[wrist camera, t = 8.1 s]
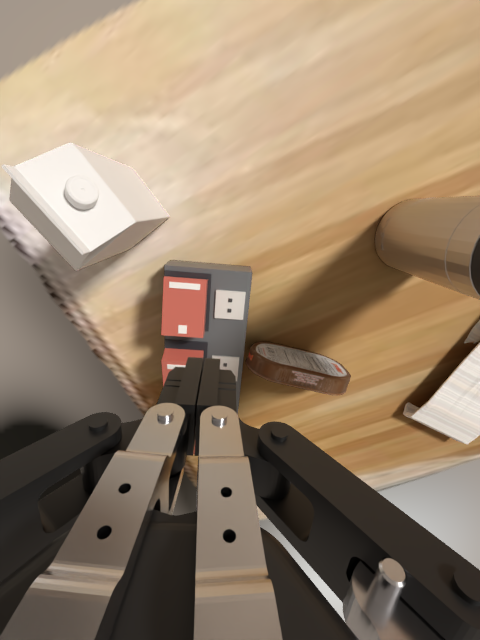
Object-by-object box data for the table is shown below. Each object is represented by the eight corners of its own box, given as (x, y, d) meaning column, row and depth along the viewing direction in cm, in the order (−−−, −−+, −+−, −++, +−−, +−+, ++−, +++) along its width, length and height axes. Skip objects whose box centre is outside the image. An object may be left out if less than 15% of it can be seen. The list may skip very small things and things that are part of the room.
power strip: (250, 266, 41) (252, 273, 37) (234, 428, 51) (234, 448, 46) (170, 259, 40) (163, 266, 36) (169, 424, 50) (164, 445, 46)
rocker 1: (207, 279, 37) (206, 279, 34) (204, 334, 38) (203, 338, 36) (167, 276, 37) (163, 276, 34) (165, 331, 38) (161, 335, 35)
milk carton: (130, 249, 40) (49, 282, 22) (91, 203, 38) (-33, 199, 20) (170, 216, 38) (119, 223, 21) (132, 166, 36) (39, 127, 19)
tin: (243, 351, 46) (246, 381, 38) (249, 333, 45) (253, 359, 37) (333, 371, 48) (354, 404, 40) (340, 355, 47) (363, 385, 39)
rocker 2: (203, 350, 39) (201, 363, 37) (202, 387, 43) (200, 401, 41) (165, 348, 38) (161, 361, 36) (167, 385, 42) (164, 399, 40)
